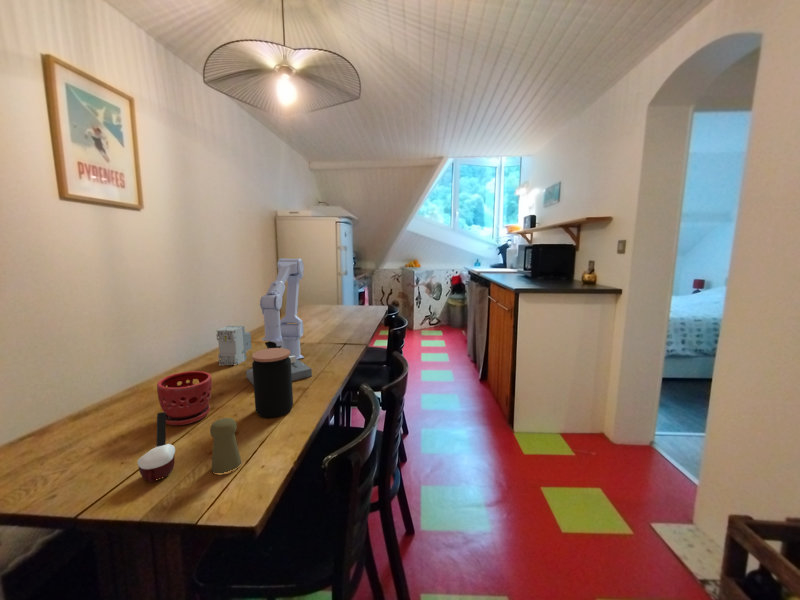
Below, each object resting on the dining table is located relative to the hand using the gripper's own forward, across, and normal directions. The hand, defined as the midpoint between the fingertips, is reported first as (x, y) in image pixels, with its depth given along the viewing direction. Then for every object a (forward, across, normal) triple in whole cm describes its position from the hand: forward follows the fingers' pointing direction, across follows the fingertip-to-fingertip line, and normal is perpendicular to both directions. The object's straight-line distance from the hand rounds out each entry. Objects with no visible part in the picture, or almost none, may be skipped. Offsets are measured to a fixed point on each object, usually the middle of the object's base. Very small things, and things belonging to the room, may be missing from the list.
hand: (274, 359), depth 131 cm
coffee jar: (+5, +32, -10) cm, 34 cm away
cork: (+5, +52, -27) cm, 59 cm away
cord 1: (+5, -5, -6) cm, 10 cm away
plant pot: (+5, +21, -31) cm, 38 cm away
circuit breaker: (+6, -25, -8) cm, 27 cm away
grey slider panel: (+5, +6, 0) cm, 8 cm away
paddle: (+2, +2, +6) cm, 6 cm away
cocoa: (+5, +46, -39) cm, 60 cm away
